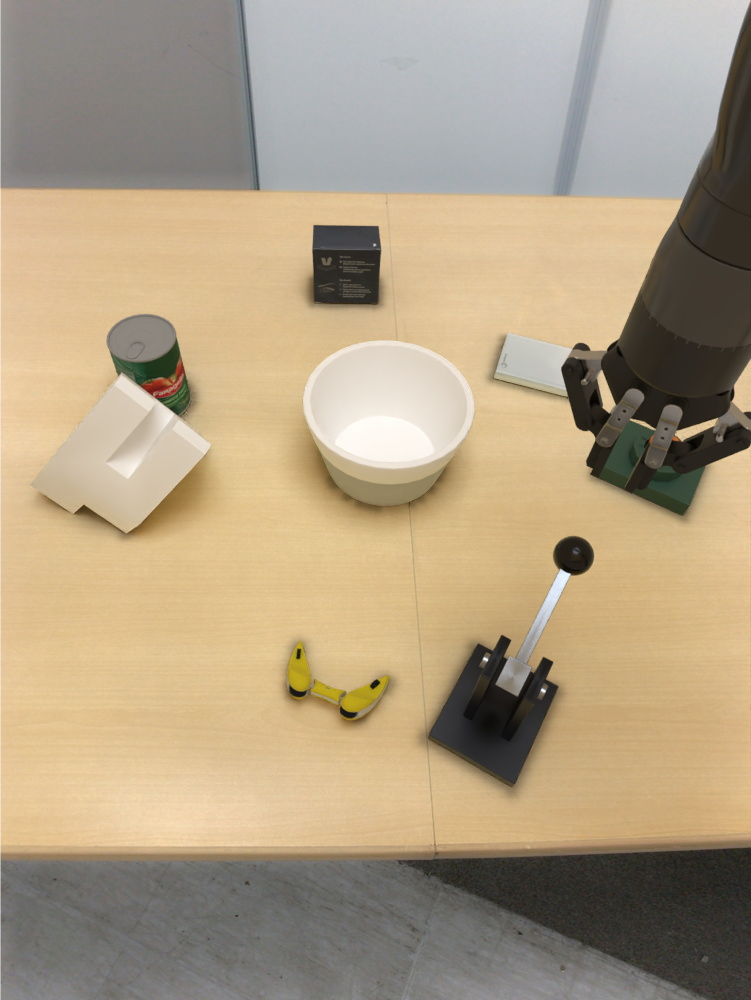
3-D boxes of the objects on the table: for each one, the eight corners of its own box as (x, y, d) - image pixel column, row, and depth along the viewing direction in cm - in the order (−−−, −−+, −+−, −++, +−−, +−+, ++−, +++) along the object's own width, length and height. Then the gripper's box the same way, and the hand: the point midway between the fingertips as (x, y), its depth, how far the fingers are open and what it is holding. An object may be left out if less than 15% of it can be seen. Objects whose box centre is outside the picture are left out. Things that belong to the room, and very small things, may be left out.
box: (376, 279, 110) (380, 224, 102) (378, 305, 107) (381, 249, 99) (314, 279, 110) (312, 222, 102) (313, 304, 106) (312, 248, 99)
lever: (562, 532, 69) (565, 525, 66) (598, 550, 68) (603, 543, 65) (488, 680, 67) (487, 680, 64) (524, 699, 66) (525, 701, 63)
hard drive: (495, 370, 98) (588, 394, 97) (507, 330, 103) (596, 352, 101) (493, 379, 100) (584, 403, 98) (505, 339, 104) (593, 361, 102)
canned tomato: (142, 373, 97) (122, 307, 88) (199, 384, 97) (186, 319, 88) (118, 418, 93) (94, 353, 84) (178, 429, 92) (161, 366, 83)
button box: (703, 464, 93) (716, 444, 90) (682, 515, 88) (696, 496, 85) (620, 429, 96) (630, 408, 92) (595, 476, 91) (605, 456, 88)
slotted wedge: (114, 541, 86) (174, 500, 73) (29, 484, 82) (77, 430, 69) (173, 455, 94) (238, 403, 80) (98, 399, 90) (154, 334, 76)
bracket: (476, 647, 77) (496, 595, 68) (556, 690, 75) (589, 642, 65) (427, 738, 72) (442, 695, 62) (512, 787, 69) (541, 751, 60)
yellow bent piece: (270, 700, 72) (273, 676, 70) (296, 657, 77) (300, 634, 75) (364, 739, 70) (371, 716, 68) (385, 693, 75) (392, 669, 74)
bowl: (389, 554, 83) (396, 500, 74) (272, 459, 90) (265, 399, 81) (492, 458, 92) (509, 399, 83) (378, 378, 99) (382, 316, 90)
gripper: (572, 290, 42) (512, 471, 57) (818, 385, 39) (688, 553, 53) (616, 224, 46) (549, 409, 61) (843, 305, 43) (715, 481, 57)
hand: (615, 476), depth 57 cm, fingers closed
